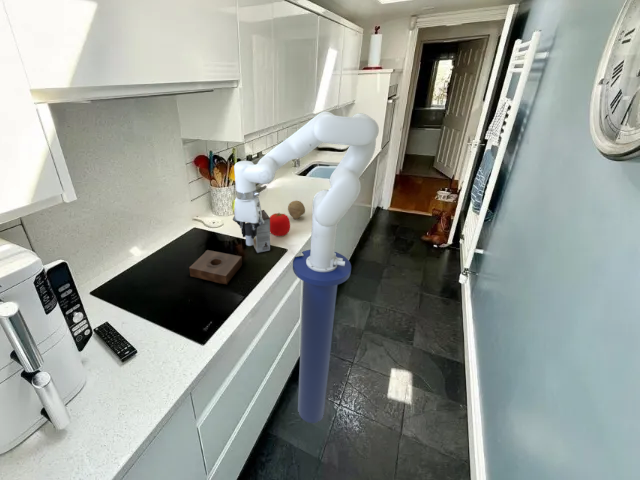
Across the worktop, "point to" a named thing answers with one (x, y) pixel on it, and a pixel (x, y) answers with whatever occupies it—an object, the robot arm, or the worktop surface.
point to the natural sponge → (296, 209)
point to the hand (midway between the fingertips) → (249, 236)
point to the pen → (248, 234)
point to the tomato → (279, 224)
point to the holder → (216, 267)
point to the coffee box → (263, 234)
